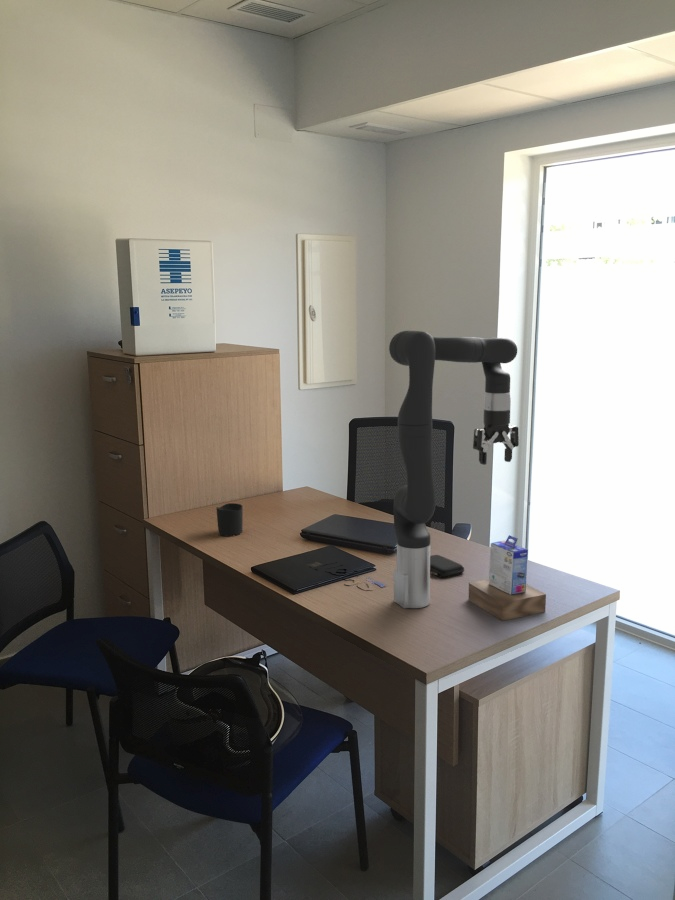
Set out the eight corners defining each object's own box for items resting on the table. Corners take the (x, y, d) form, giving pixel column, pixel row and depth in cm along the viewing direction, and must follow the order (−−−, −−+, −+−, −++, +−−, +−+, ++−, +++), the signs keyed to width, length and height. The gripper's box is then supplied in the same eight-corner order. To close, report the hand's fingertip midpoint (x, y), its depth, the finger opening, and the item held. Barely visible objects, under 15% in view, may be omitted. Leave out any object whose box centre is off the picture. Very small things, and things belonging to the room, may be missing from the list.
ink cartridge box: (527, 592, 210) (529, 541, 207) (511, 596, 207) (513, 544, 204) (503, 580, 218) (504, 531, 215) (487, 584, 216) (489, 534, 213)
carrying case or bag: (410, 567, 246) (439, 581, 233) (410, 558, 245) (439, 571, 233) (437, 561, 251) (467, 574, 239) (437, 552, 250) (467, 565, 238)
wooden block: (502, 620, 204) (502, 602, 203) (468, 599, 218) (468, 582, 217) (545, 611, 209) (545, 594, 208) (509, 591, 223) (510, 575, 223)
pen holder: (245, 535, 279) (244, 509, 278) (218, 538, 277) (217, 511, 275) (241, 528, 288) (240, 502, 286) (216, 530, 286) (215, 504, 284)
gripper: (483, 411, 217) (482, 467, 220) (525, 407, 222) (523, 462, 225) (468, 407, 223) (467, 462, 226) (509, 404, 229) (507, 458, 232)
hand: (495, 462), depth 226 cm, fingers open, 8 cm apart
